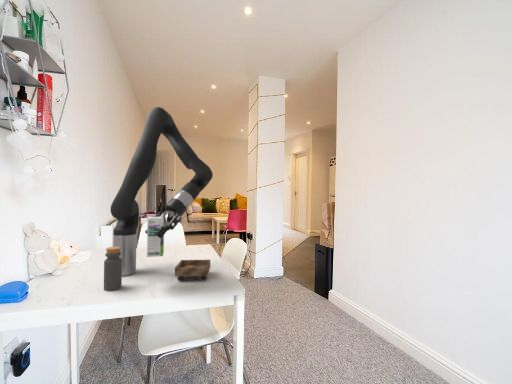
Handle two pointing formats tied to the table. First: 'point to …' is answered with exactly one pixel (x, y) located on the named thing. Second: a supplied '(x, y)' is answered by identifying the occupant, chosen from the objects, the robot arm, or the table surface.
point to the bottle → (112, 269)
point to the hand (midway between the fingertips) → (152, 235)
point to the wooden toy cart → (192, 269)
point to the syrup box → (154, 237)
